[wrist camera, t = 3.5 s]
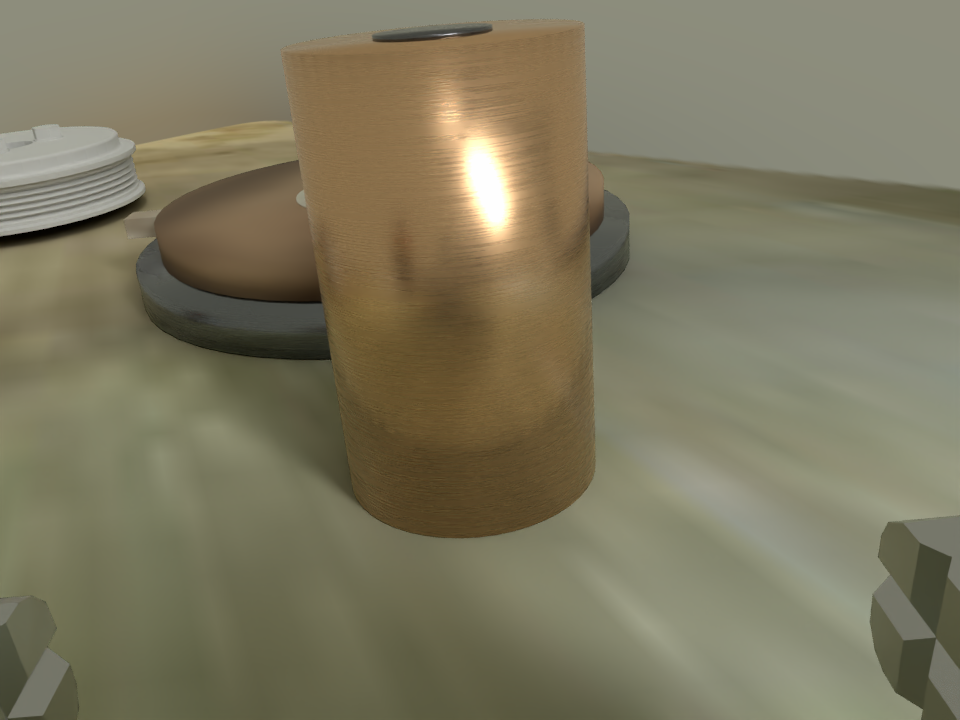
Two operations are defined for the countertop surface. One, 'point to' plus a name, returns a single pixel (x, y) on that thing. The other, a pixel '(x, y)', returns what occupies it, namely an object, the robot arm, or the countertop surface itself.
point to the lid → (63, 176)
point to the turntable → (256, 234)
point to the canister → (454, 265)
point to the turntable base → (309, 302)
